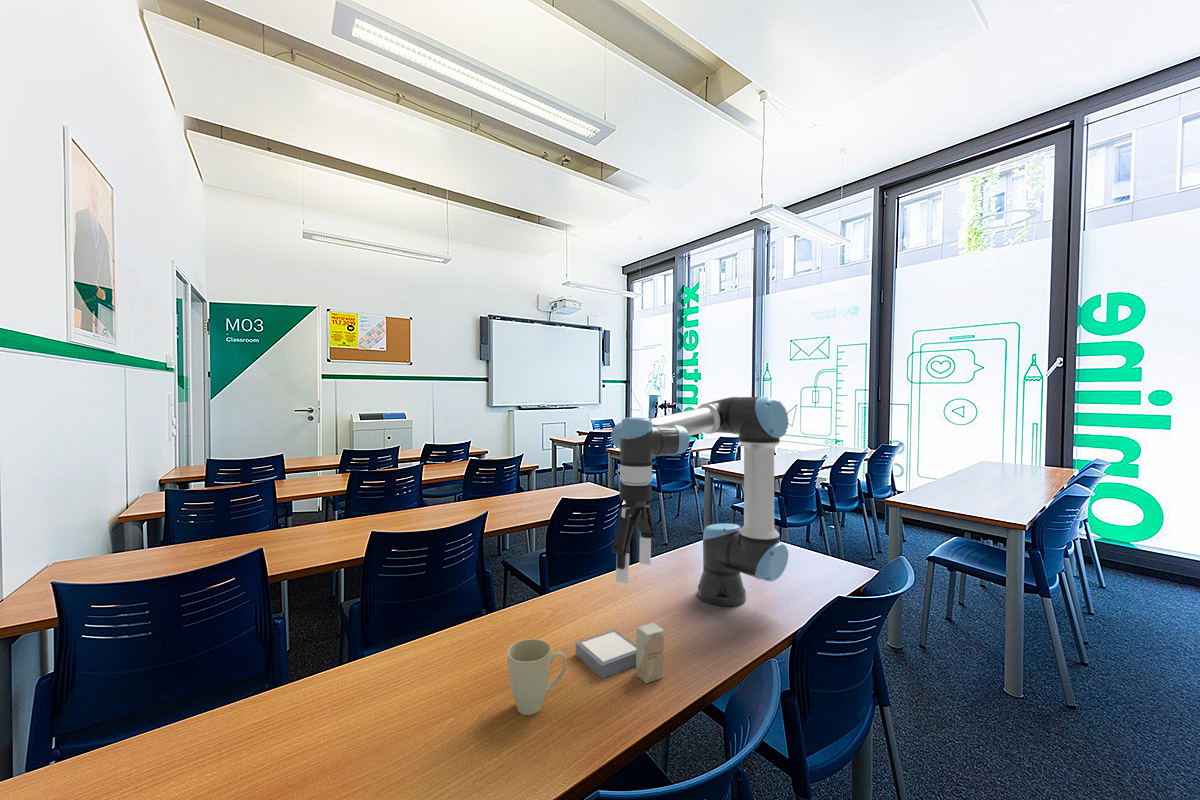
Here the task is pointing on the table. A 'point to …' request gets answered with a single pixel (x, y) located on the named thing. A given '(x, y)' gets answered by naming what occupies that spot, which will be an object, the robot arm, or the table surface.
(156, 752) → the table surface
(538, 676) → the mug
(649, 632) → the box
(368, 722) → the table surface
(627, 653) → the pedestal
